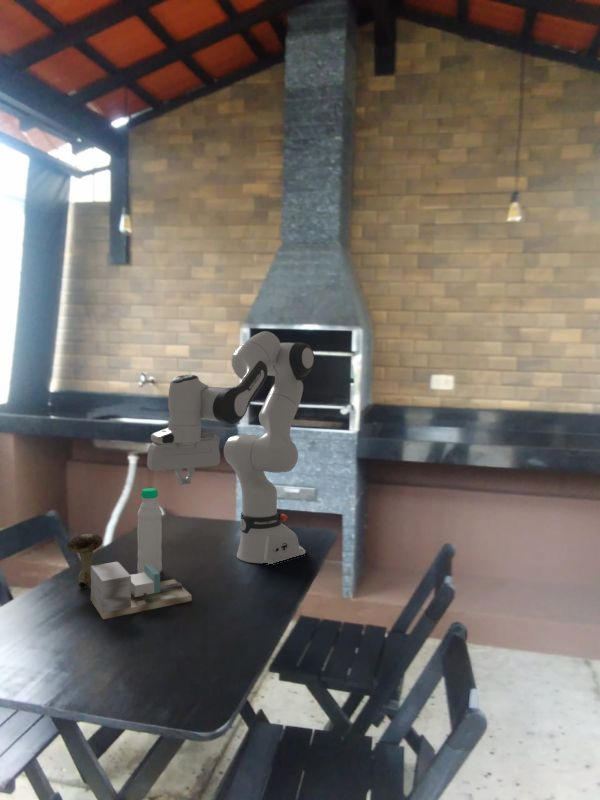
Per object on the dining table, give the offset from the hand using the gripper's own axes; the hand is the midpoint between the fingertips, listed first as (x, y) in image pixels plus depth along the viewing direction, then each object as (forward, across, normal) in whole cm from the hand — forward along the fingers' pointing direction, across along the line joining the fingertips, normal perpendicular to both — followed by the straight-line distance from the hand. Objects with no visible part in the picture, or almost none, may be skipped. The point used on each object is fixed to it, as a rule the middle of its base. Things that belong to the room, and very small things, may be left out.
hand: (184, 484), depth 172 cm
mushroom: (+29, +24, -12) cm, 40 cm away
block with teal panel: (+26, +13, +5) cm, 30 cm away
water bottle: (+29, +5, -15) cm, 33 cm away
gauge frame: (+29, +13, +4) cm, 32 cm away
